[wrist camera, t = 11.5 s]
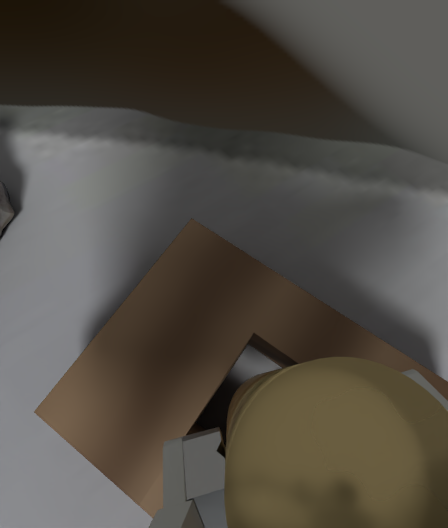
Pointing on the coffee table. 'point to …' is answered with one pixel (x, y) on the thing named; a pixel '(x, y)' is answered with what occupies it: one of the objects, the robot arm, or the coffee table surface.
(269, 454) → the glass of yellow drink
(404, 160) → the coffee table surface
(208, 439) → the robot arm
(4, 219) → the geode
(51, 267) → the coffee table surface
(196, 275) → the walnut hole block
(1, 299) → the coffee table surface
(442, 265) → the coffee table surface
